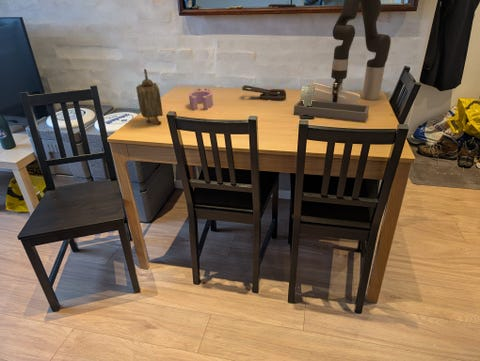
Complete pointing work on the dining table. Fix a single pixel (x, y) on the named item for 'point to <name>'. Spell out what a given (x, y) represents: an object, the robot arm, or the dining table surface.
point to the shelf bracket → (326, 95)
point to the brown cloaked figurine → (149, 99)
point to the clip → (201, 99)
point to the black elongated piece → (268, 93)
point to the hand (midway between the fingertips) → (336, 100)
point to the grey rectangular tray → (333, 110)
